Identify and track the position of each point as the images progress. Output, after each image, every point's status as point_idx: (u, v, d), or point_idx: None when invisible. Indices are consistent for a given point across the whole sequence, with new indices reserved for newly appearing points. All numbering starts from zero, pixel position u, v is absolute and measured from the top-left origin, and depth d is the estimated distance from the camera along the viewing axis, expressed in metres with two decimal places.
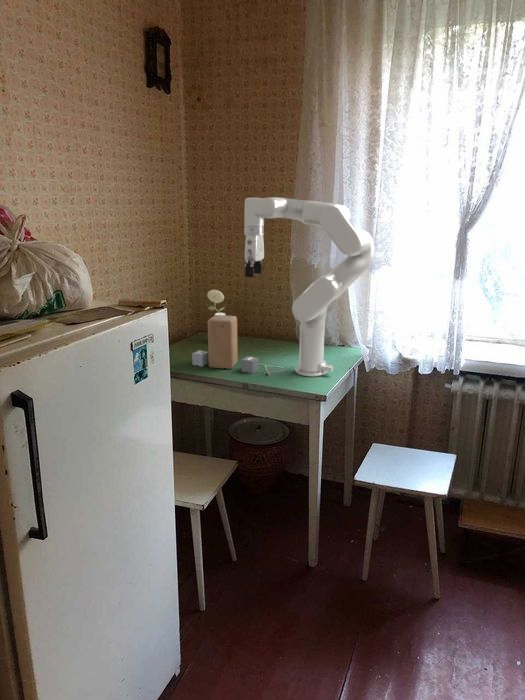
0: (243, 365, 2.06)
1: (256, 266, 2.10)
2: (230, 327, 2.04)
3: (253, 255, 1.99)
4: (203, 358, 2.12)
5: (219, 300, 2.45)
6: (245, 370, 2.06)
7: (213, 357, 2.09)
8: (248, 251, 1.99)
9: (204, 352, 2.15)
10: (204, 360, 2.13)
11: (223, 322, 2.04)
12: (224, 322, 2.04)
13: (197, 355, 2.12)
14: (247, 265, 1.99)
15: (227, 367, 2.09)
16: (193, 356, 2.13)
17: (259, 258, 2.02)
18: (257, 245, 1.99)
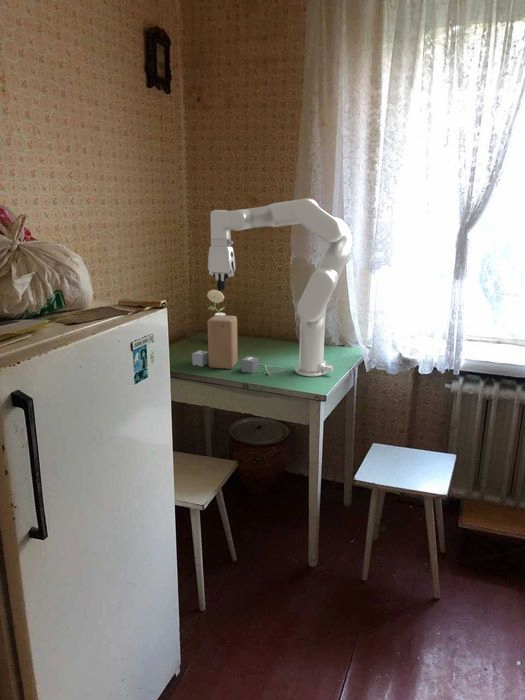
0: (243, 365, 2.06)
1: None
2: (230, 327, 2.04)
3: (234, 266, 2.02)
4: (203, 358, 2.12)
5: (219, 300, 2.45)
6: (245, 370, 2.06)
7: (213, 357, 2.09)
8: (231, 267, 2.01)
9: (204, 352, 2.15)
10: (204, 360, 2.13)
11: (223, 322, 2.04)
12: (224, 322, 2.04)
13: (197, 355, 2.12)
14: (225, 279, 2.03)
15: (227, 367, 2.09)
16: (193, 356, 2.13)
17: None
18: None
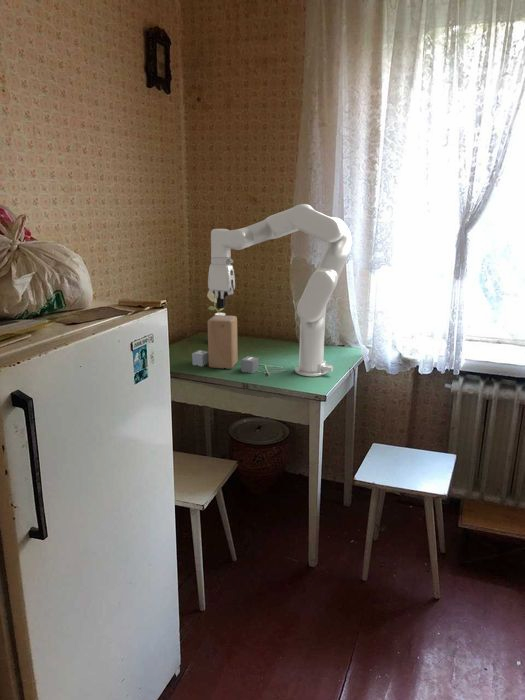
0: (243, 365, 2.06)
1: None
2: (230, 327, 2.04)
3: (234, 284, 2.04)
4: (203, 358, 2.12)
5: None
6: (245, 370, 2.06)
7: (213, 357, 2.09)
8: (230, 285, 2.03)
9: (204, 352, 2.15)
10: (204, 360, 2.13)
11: (223, 322, 2.04)
12: (224, 322, 2.04)
13: (197, 355, 2.12)
14: (225, 297, 2.05)
15: (227, 367, 2.09)
16: (193, 356, 2.13)
17: None
18: None
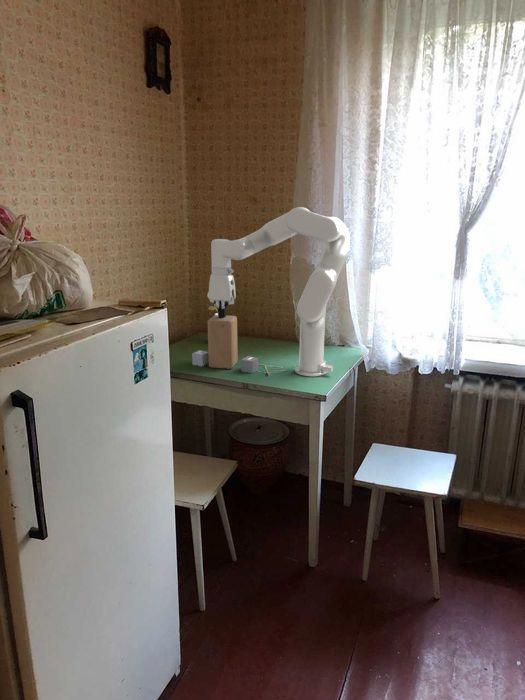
0: (243, 365, 2.06)
1: None
2: (230, 327, 2.04)
3: (235, 294, 2.05)
4: (203, 358, 2.12)
5: None
6: (245, 370, 2.06)
7: (213, 357, 2.09)
8: None
9: (204, 352, 2.15)
10: (204, 360, 2.13)
11: (223, 322, 2.04)
12: (224, 322, 2.04)
13: (197, 355, 2.12)
14: (226, 306, 2.06)
15: (227, 367, 2.09)
16: (193, 356, 2.13)
17: None
18: None
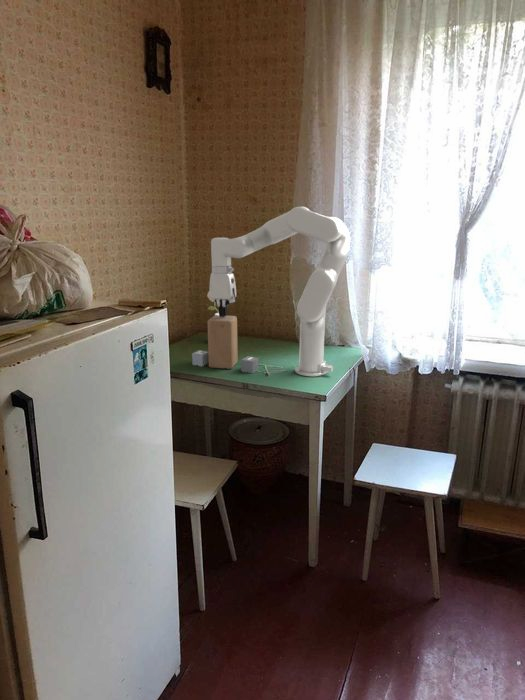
0: (243, 365, 2.06)
1: None
2: (230, 327, 2.04)
3: (235, 292, 2.05)
4: (203, 358, 2.12)
5: None
6: (245, 370, 2.06)
7: (213, 357, 2.09)
8: (232, 293, 2.04)
9: (204, 352, 2.15)
10: (204, 360, 2.13)
11: (223, 322, 2.04)
12: (224, 322, 2.04)
13: (197, 355, 2.12)
14: (226, 305, 2.06)
15: (227, 367, 2.09)
16: (193, 356, 2.13)
17: None
18: None
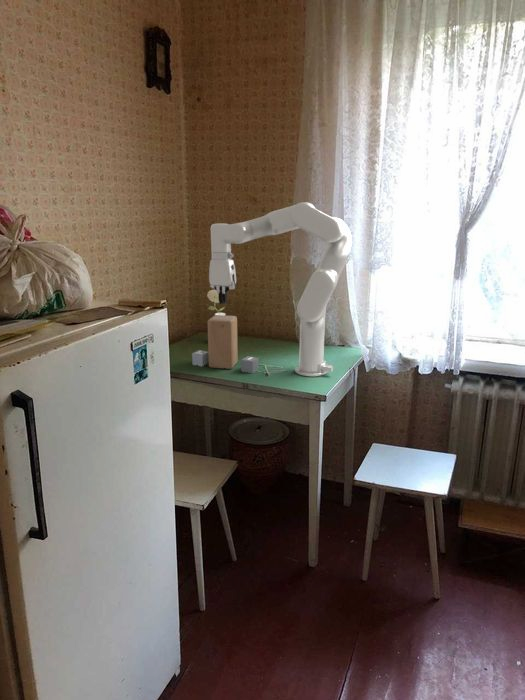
0: (243, 365, 2.06)
1: None
2: (230, 327, 2.04)
3: (235, 279, 2.03)
4: (203, 358, 2.12)
5: None
6: (245, 370, 2.06)
7: (213, 357, 2.09)
8: (232, 279, 2.02)
9: (204, 352, 2.15)
10: (204, 360, 2.13)
11: (223, 322, 2.04)
12: (224, 322, 2.04)
13: (197, 355, 2.12)
14: (226, 292, 2.04)
15: (227, 367, 2.09)
16: (193, 356, 2.13)
17: None
18: None
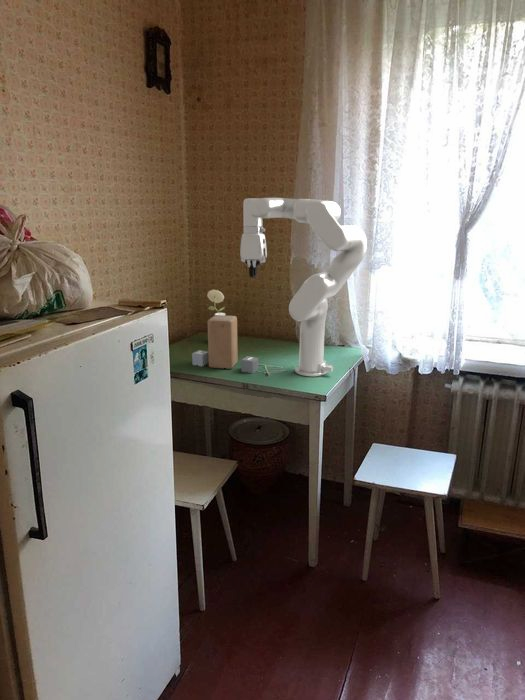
0: (243, 365, 2.06)
1: None
2: (230, 327, 2.04)
3: (266, 253, 2.09)
4: (203, 358, 2.12)
5: (219, 300, 2.45)
6: (245, 370, 2.06)
7: (213, 357, 2.09)
8: (263, 253, 2.07)
9: (204, 352, 2.15)
10: (204, 360, 2.13)
11: (223, 322, 2.04)
12: (224, 322, 2.04)
13: (197, 355, 2.12)
14: (257, 265, 2.10)
15: (227, 367, 2.09)
16: (193, 356, 2.13)
17: None
18: None
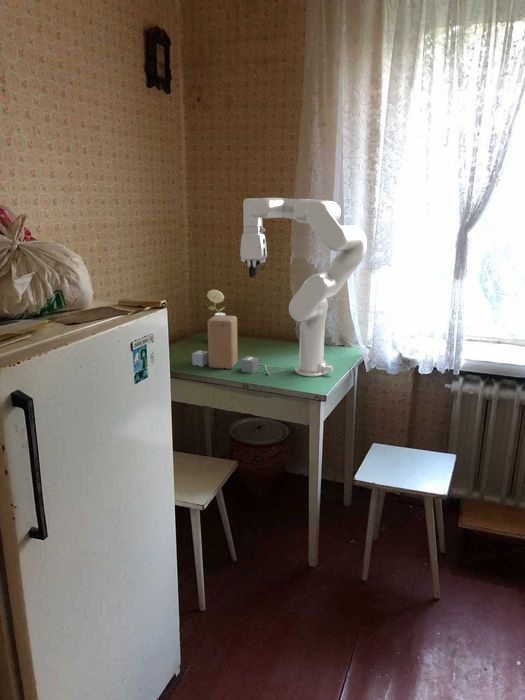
0: (243, 365, 2.06)
1: None
2: (230, 327, 2.04)
3: (266, 253, 2.09)
4: (203, 358, 2.12)
5: (219, 300, 2.45)
6: (245, 370, 2.06)
7: (213, 357, 2.09)
8: (263, 253, 2.07)
9: (204, 352, 2.15)
10: (204, 360, 2.13)
11: (223, 322, 2.04)
12: (224, 322, 2.04)
13: (197, 355, 2.12)
14: (257, 265, 2.10)
15: (227, 367, 2.09)
16: (193, 356, 2.13)
17: None
18: None
